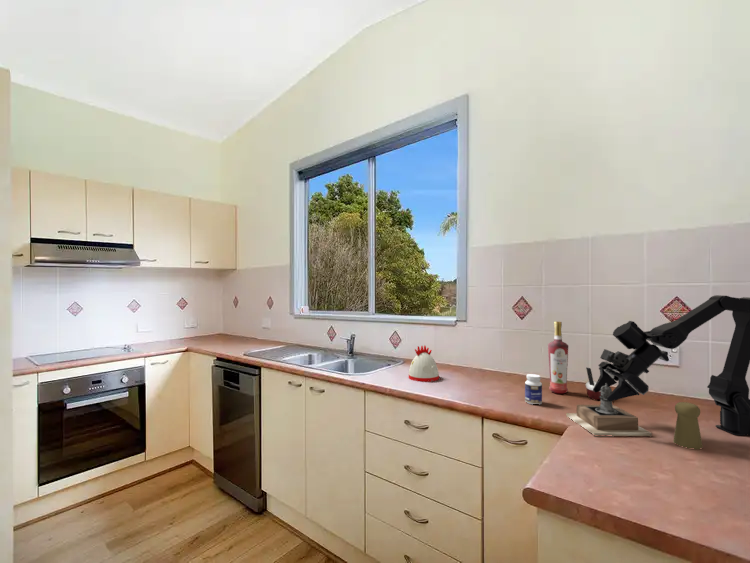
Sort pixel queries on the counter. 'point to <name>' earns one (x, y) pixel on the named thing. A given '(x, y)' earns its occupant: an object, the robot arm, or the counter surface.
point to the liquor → (558, 362)
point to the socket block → (607, 422)
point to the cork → (687, 426)
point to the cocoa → (592, 386)
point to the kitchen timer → (423, 366)
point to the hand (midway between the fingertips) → (600, 395)
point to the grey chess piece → (606, 402)
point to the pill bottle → (533, 389)
